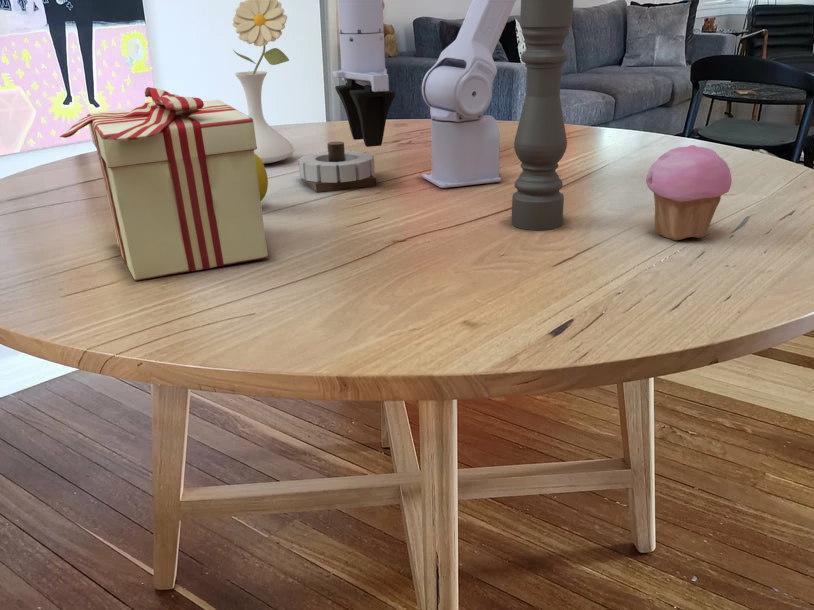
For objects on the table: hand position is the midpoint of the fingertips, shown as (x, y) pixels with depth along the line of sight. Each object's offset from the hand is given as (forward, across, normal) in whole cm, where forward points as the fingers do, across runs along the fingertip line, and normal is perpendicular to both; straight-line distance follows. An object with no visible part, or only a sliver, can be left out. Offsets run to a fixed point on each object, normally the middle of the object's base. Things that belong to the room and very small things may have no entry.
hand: (367, 142), depth 112 cm
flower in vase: (+7, -29, -9) cm, 31 cm away
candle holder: (+7, +23, +14) cm, 28 cm away
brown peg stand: (+7, -9, -2) cm, 12 cm away
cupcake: (+7, +35, +26) cm, 44 cm away
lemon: (+7, +1, -17) cm, 18 cm away
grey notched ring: (+6, -9, -2) cm, 11 cm away
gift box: (+7, +18, -28) cm, 34 cm away
